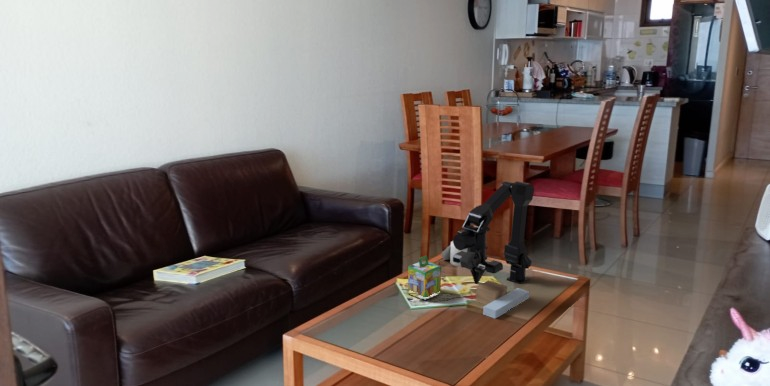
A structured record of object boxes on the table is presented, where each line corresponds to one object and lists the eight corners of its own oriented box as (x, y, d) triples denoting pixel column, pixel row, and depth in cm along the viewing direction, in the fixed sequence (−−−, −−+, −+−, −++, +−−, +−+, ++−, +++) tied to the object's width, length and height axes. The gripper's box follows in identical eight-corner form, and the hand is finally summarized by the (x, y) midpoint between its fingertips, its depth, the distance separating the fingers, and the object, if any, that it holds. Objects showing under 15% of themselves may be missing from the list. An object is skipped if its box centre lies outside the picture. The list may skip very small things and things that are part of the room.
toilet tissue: (438, 259, 272) (439, 241, 270) (468, 257, 274) (469, 239, 272) (444, 267, 263) (444, 248, 261) (474, 265, 266) (475, 246, 263)
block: (487, 295, 237) (488, 280, 235) (506, 301, 232) (507, 285, 230) (476, 302, 231) (476, 286, 229) (494, 308, 226) (495, 292, 224)
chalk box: (425, 301, 231) (425, 264, 227) (407, 294, 237) (407, 257, 233) (441, 294, 237) (442, 257, 234) (423, 287, 244) (423, 251, 240)
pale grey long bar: (517, 295, 236) (517, 287, 235) (528, 299, 233) (529, 291, 232) (483, 314, 221) (483, 306, 220) (495, 318, 217) (495, 310, 217)
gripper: (444, 243, 231) (443, 283, 235) (487, 255, 218) (485, 297, 222) (462, 236, 239) (461, 274, 243) (504, 247, 226) (502, 287, 230)
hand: (476, 283), depth 234 cm, fingers closed
